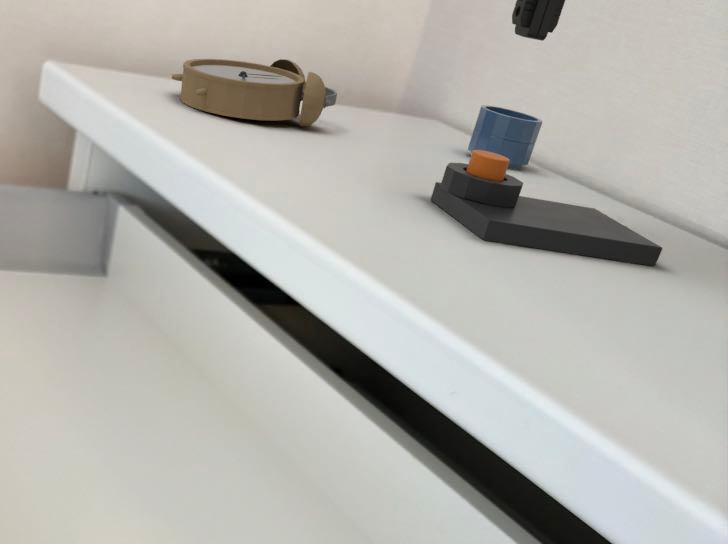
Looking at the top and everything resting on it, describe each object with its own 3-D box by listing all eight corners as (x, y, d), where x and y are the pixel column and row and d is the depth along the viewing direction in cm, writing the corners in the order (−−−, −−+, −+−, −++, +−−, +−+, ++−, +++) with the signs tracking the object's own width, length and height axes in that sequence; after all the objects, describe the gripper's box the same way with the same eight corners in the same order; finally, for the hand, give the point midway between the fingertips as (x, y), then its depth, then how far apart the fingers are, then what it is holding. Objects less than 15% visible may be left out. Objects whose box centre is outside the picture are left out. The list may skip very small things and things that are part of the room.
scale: (586, 224, 88) (600, 186, 87) (655, 266, 80) (672, 225, 78) (424, 198, 84) (436, 158, 83) (478, 239, 76) (493, 196, 74)
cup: (509, 158, 110) (525, 112, 107) (536, 174, 105) (553, 125, 102) (456, 149, 108) (471, 101, 106) (481, 164, 103) (497, 115, 101)
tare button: (492, 177, 83) (500, 153, 82) (508, 186, 81) (516, 162, 80) (459, 171, 82) (466, 147, 81) (474, 181, 80) (482, 156, 79)
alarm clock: (165, 55, 103) (313, 50, 107) (164, 110, 106) (308, 103, 109) (202, 79, 94) (361, 73, 98) (200, 139, 97) (355, 130, 101)
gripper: (559, -296, 63) (465, 28, 72) (751, -240, 67) (638, 63, 75) (505, -285, 69) (424, 12, 78) (682, -235, 73) (585, 45, 82)
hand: (529, 37), depth 77 cm, fingers closed
